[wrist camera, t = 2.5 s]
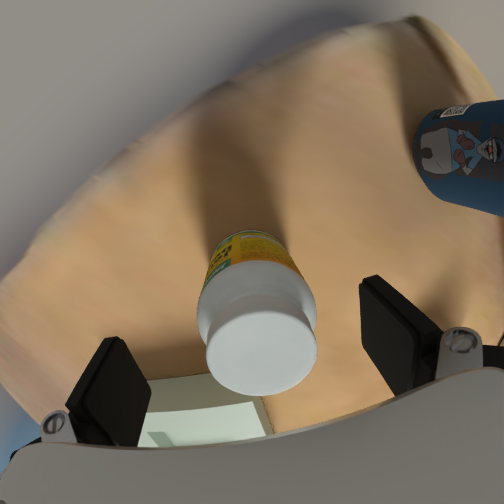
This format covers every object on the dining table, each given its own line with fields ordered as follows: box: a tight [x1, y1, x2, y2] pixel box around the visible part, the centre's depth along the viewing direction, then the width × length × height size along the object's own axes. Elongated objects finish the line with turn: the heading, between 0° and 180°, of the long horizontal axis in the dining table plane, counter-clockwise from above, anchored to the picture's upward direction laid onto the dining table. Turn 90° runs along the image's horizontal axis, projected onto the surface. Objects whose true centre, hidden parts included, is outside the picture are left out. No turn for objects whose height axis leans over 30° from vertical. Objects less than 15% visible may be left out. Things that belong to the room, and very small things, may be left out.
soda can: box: [413, 100, 504, 217], centre depth 11 cm, size 7×7×12 cm
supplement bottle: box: [197, 230, 317, 396], centre depth 14 cm, size 5×5×10 cm
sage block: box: [138, 373, 274, 447], centre depth 21 cm, size 12×12×4 cm
